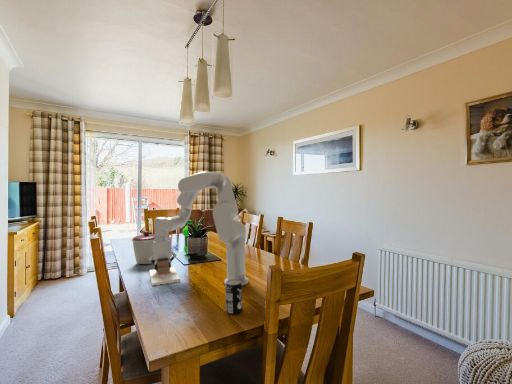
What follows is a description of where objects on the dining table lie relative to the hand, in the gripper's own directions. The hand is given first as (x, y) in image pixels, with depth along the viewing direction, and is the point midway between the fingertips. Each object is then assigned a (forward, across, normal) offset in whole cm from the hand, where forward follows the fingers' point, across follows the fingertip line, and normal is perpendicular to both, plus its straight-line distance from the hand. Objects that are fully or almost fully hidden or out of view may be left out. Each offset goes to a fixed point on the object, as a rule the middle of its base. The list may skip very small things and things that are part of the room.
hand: (162, 269), depth 156 cm
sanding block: (+1, 0, 0) cm, 1 cm away
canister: (+3, +7, -30) cm, 31 cm away
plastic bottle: (+3, -23, -38) cm, 45 cm away
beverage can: (+3, -21, +62) cm, 65 cm away
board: (+3, 0, +5) cm, 6 cm away
